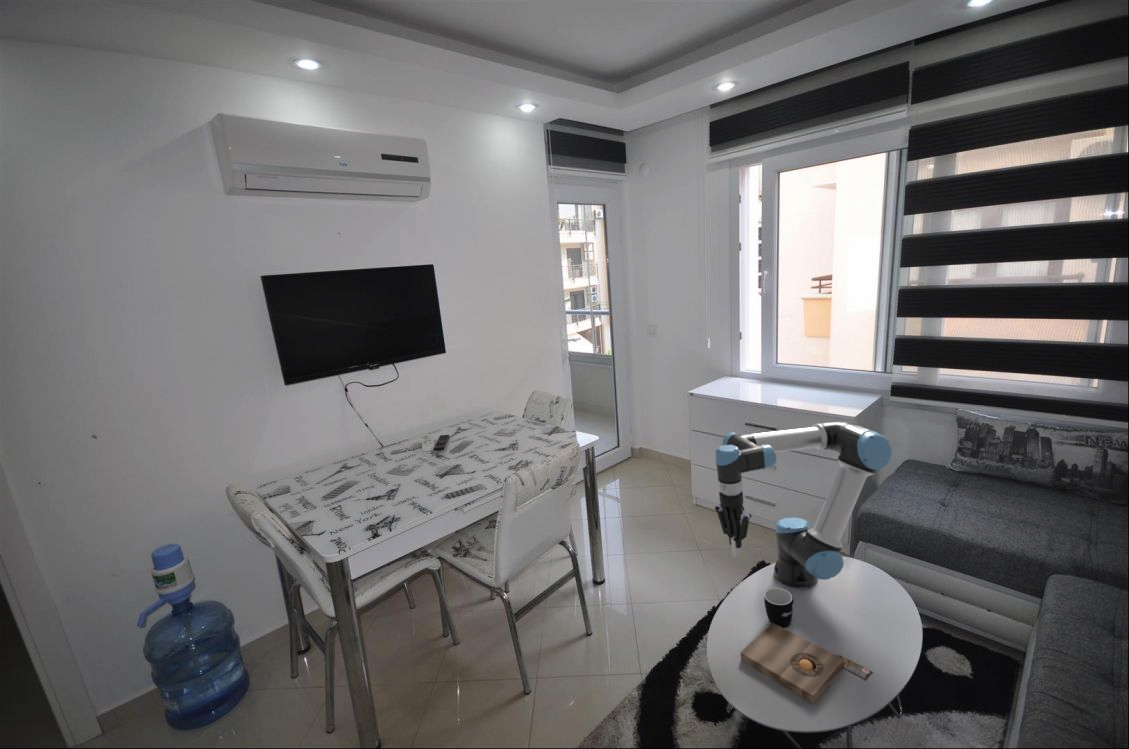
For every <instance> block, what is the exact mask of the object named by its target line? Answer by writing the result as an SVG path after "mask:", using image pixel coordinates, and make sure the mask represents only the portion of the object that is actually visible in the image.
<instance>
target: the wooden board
mask: <svg viewBox="0 0 1129 749" xmlns="http://www.w3.org/2000/svg"><path fill="white" fill-rule="evenodd" d="M802 659H806V660H808V661H810V662H811V664H812V665H813V671H805V670H803V669H801V668H800V667H799V666H798V663H799V661H800V660H802ZM740 660H741V661H742V662H743V663H745V664H746V665H748V666H750V667H751V668H753V669H754V670H756V671H758V672H760V673H761V674H763V675H764V676H766V677H767V678H769V679H771V680H772V681H774V682H776V683H778V684H779V685H780V686H782V687H784V688H785V689H787V690H788V691H790V692H793V693H794V694H795V695H797V696H798V697H800V698H802V699H803V700H805V701H806V702H808V703H810V704H812V705H814V706H815V705H816V703H817V702H818V700H819V699H820V698H821V697H822V696H823V694H824V693H825V692H826V691H827V690H828V689H829V687H830V686H831V685H832V683H833V682H834V681H835V680H836V679H837V677H838V676H839V675H840V674H841V672H842V671H843V670H845V669H844V659H843V658H841V657H839V655H837V654H835V653H833V652H831V651H829V650H827V649H825V648H823V647H821V646H820V645H817V644H815V643H814V642H812V641H809V640H808V639H805V638H803V637H801V636H800V635H797V634H796V633H793V632H792V631H790V630H788V629H786V628H782V627H780V626H778V625H776V624H774V623H770V624H769V625H768V626H767V627H765V629H763V631H761V632H760V633H759V634H758V635H757V636H756V637H755V638H754V639H753V640H752V641H750V642H749V644H747V646H745V647H744V648H743V649H742V650H741V651H740Z"/></svg>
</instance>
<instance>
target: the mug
mask: <svg viewBox="0 0 1129 749" xmlns="http://www.w3.org/2000/svg"><path fill="white" fill-rule="evenodd" d="M763 593H764V594H763V601H764V602H763V603H764V608H765V612H766V615H767V619H768V622H769V623H770V624H771V623H774V624H776V625H778V626H780V627H782V628H784V629H786V628H788V627H789V626H790V625H791V624H792V620H793V614H794V613H793V612H794V611H793V610H794V609H793V608H794V602H795V599H794V598H795V597H794V596H793V595H792V594H791V592H789V591H788V590H787V589H784V588H781V587H771V588H768V589H766V590H765V591H764V592H763Z"/></svg>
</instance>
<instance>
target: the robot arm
mask: <svg viewBox="0 0 1129 749" xmlns="http://www.w3.org/2000/svg"><path fill="white" fill-rule="evenodd" d="M808 449H816V450H818V451H823V450H824V451H825V450H827V451H832V452H836V453H839V455H838V456H837V462H838V465H839V468H838V470H837V473H836V474H835V477H834V479H833V482H832V484H831V486H830V489H829V491H828V493H827V495H826V498H825V501H824V503H823V505H822V508H821V510H820V512H819V514H818V517H817V518H816V521H815V524H814V526H813V527H811V526H810V523H809V521H808V520H806V519H804V518H801V517H784V518H781V519H779V520H778V521H777V522H776V523H775V536H776V547H777V549H776V550H777V558H776V561H775V563H774V566H773V568H774V569H773V573H774V574H773V575H774V578H775V579H776V580H777V582H779V583H780V584H782V585H784V586H787V587H789V588H796V589H807V588H810V587H812V586H814V585H815V584H816V583H817V582H818V580H822V581H823V580H825V581H826V580H830V579H832V578H834V577H837V575H838V574H840V572H841V571H842V570H843V568H844V563H845V562H844V559H843V557H842V555H841V551H842V548H843V544H842V541H841V538H842V536H843V533H844V532H845V529H846V526H847V524H848V521H849V519H850V517H851V514H852V513H853V510H854V508H855V505H856V503H857V501H858V499H859V496H860V494H861V492H862V489H863V487H864V484H866V480H867V478H868V477H870V476H872V475H875V473H876V470H880V469H883V468H884V467H885V466H887V465H888V464H889V462H890V460H891V458H892V454H893V453H892V446H891V444H890V441H889V440H888V439H887V437H886V436H884V435H883V434H882V433H879V432H877V431H875V430H871V429H869V428H865V427H863V426H861V425H857V424H855V423H854V422H848V421H832V422H831V421H830V422H819V423H813V424H812V425H811V427H802V428H800V427H799V428H793V429H783V430H777V431H776V430H774V431H768V432H767V431H766V432H759V433H748V434H740V433H738V432H737V433H736V432H729V433H727V434H725V436H724V437H723V438H722V445H720V446H718V447H717V448H716V449H715V466H716V474H717V483H718V484H717V485H718V491H719V492H718V494H719V504H718V505H715V507H714V509H715V510H714V511H716V513H717V516H718V519H719V522H720V526H721V529H722V532H723V534H724V535H727V537H728V542H729V545H730V546H731V555H732V557H734V558H737V557H738V556H740V555H741V552H742V551H741V548H742V541H743V540H745V538H747V534H748V529H749V524H750V523H749V522H750V520H751V518H752V514H751V513H747V512H746V511H745V508H744V493H743V479H742V478H743V477H742V474H745V473H750V472H754V471H759V470H765V469H767V468H772V467H775V465H776V463H777V454H776V453H781V452H790V451H791V452H792V451H800V450H808ZM741 519H742V520H741Z"/></svg>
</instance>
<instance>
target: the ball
mask: <svg viewBox="0 0 1129 749" xmlns="http://www.w3.org/2000/svg"><path fill="white" fill-rule="evenodd" d="M798 666H799V667H800V668H801V669H803V670H805V671H814V669H813V665H812V664H811V662H810V661H808V660H806V659H802V660H800V661H799V663H798Z"/></svg>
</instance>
